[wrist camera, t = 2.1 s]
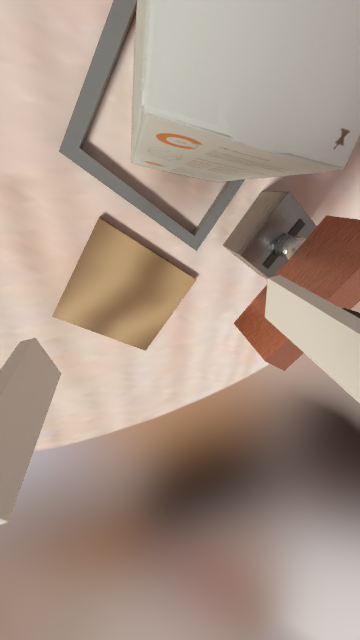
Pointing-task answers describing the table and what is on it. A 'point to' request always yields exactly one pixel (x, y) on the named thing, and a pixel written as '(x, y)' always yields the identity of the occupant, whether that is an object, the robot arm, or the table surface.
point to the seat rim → (85, 113)
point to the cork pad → (122, 288)
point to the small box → (245, 87)
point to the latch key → (308, 282)
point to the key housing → (268, 231)
